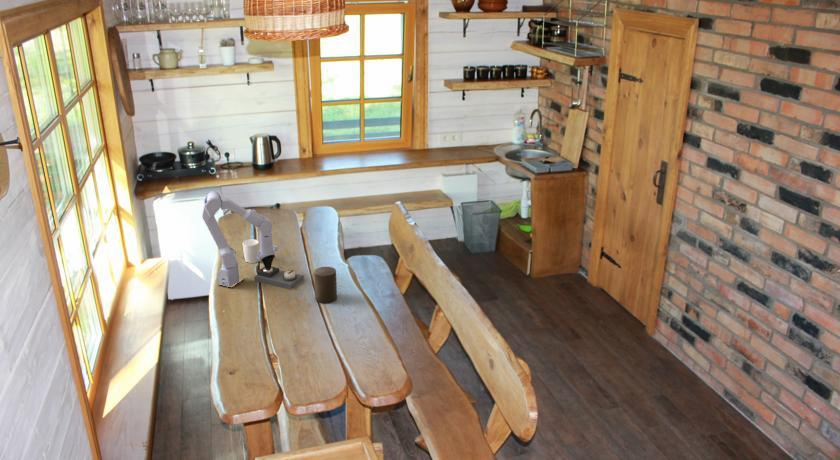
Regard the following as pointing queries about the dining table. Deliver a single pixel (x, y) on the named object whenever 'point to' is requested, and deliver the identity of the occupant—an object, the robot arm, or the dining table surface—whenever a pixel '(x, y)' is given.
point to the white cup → (251, 250)
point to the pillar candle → (325, 284)
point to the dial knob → (289, 274)
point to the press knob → (268, 270)
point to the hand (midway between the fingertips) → (268, 269)
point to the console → (278, 278)
